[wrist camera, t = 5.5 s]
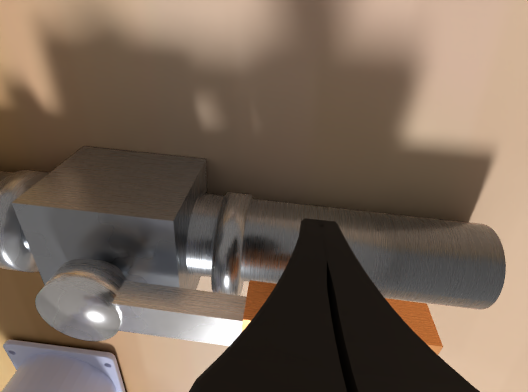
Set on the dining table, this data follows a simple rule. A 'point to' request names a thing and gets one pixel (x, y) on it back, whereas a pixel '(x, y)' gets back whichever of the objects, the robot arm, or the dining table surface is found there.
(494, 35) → the dining table surface
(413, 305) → the valve lever
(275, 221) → the valve pipe
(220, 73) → the dining table surface
